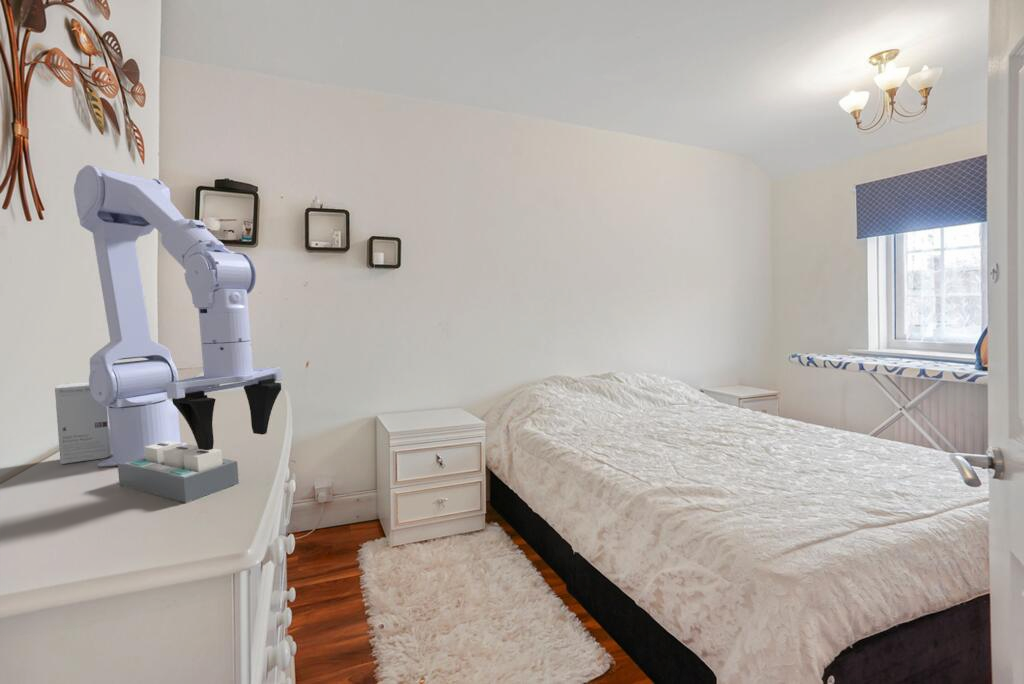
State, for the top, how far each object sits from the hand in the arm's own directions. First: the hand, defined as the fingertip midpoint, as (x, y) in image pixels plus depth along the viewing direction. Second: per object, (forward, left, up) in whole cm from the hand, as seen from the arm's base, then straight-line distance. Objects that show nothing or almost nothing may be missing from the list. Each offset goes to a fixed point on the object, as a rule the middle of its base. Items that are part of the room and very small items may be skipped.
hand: (234, 440), depth 63 cm
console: (+1, -7, -5) cm, 9 cm away
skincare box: (-16, -28, -5) cm, 33 cm away
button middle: (+1, -6, -2) cm, 7 cm away
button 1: (-2, -10, -2) cm, 10 cm away
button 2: (+3, -2, -2) cm, 5 cm away
